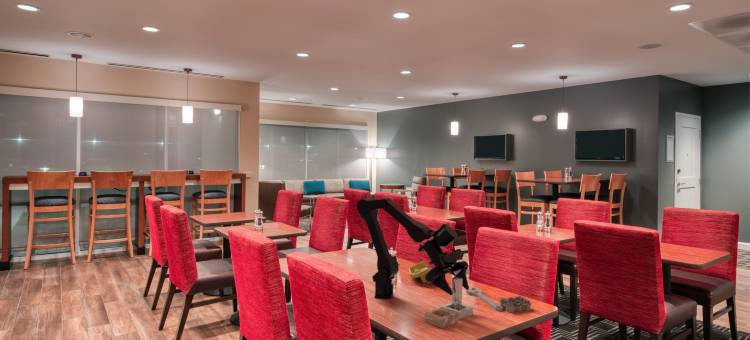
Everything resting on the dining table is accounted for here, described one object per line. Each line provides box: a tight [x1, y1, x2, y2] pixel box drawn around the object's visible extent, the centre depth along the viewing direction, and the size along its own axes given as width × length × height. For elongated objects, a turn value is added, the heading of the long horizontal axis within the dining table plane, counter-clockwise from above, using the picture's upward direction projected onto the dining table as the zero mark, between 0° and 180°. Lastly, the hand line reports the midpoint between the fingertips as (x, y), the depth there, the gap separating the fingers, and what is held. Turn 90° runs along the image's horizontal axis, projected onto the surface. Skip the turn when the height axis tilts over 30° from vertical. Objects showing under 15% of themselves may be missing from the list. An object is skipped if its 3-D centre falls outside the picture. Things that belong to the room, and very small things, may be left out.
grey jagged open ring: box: [497, 295, 533, 313], centre depth 168 cm, size 11×8×4 cm
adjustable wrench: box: [465, 286, 504, 312], centre depth 177 cm, size 25×6×2 cm, turn 9°
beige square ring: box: [424, 307, 458, 329], centre depth 153 cm, size 8×7×3 cm
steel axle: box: [450, 276, 463, 311], centre depth 161 cm, size 4×4×12 cm
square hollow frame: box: [440, 302, 474, 321], centre depth 161 cm, size 8×8×2 cm
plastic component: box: [408, 260, 432, 284], centre depth 205 cm, size 20×7×10 cm
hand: (460, 292), depth 160 cm, fingers open, 9 cm apart
